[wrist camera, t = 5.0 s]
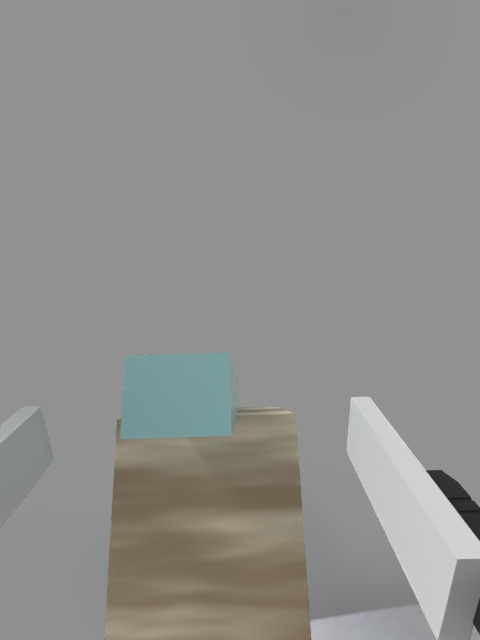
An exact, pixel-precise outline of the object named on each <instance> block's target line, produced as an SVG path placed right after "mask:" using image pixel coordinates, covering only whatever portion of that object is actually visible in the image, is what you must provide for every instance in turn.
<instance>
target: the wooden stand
mask: <svg viewBox="0 0 480 640" xmlns="http://www.w3.org/2000/svg"><path fill="white" fill-rule="evenodd" d="M116 430H117V431H116V447H115V465H114V483H113V499H112V517H111V534H110V535H111V536H110V551H109V569H108V588H107V605H106V621H105V639H104V640H311V630H310V616H309V601H308V587H307V572H306V559H305V543H304V529H303V514H302V502H301V486H300V474H299V473H300V471H299V457H298V444H297V443H298V442H297V429H296V414H294V413H292V412H289V411H287V410H284V409H281V408H279V407H245V408H238V410H237V414H236V418H235V423H234V427H233V431H232V435H231V436H208V437H177V438H146V439H120V432H121V419H118V420H117V429H116Z"/></svg>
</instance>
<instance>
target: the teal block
mask: <svg viewBox="0 0 480 640" xmlns="http://www.w3.org/2000/svg"><path fill="white" fill-rule="evenodd" d="M124 359H125V360H124V377H123V395H122V414H121V432H120V439H146V438H177V437H208V436H231V435H232V431H233V427H234V423H235V418H236V414H237V410H238V380H237V376H236V373H235V370H234V366H233V363H232V360H231V356H230V353H199V354H169V355H168V354H167V355H136V356H125V358H124Z"/></svg>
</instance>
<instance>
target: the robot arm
mask: <svg viewBox="0 0 480 640" xmlns="http://www.w3.org/2000/svg"><path fill="white" fill-rule="evenodd" d="M347 454H348V456H349V457H350V460H351V462H352V464H353V466H354V468H355V470H356V472H357V475H358V476H359V478H360V481H361V483H362V485H363V487H364V489H365V491H366V493H367V495H368V498H369V500H370V502H371V504H372V506H373V508H374V510H375V512H376V514H377V516H378V518H379V520H380V523H381V525H382V527H383V529H384V531H385V533H386V535H387V537H388V539H389V541H390V544H391V546H392V548H393V550H394V552H395V554H396V556H397V558H398V560H399V562H400V565H401V567H402V569H403V571H404V573H405V575H406V577H407V579H408V581H409V583H410V585H411V588H412V589H413V592H414V594H415V596H416V598H417V600H418V602H419V604H420V606H421V608H422V611H423V613H424V615H425V617H426V619H427V621H428V623H429V625H430V627H431V629H432V631H433V634H434V636H435V638H436V640H470V636H471V633H472V629H473V626H475V627H476V629H477V631H478V632H479V634H480V507H479V506H478V505H477V504H476V503H475V502H474V501H472V500H471V497H470V496H469V495H468V493H467V492H466V491H465V490H464V489H463V488H462V486H461V485H460V484H459V483H458V482H457V481H455V480H454V479H453V478H451V477H450V476H449V475H447V474H446V473H444V472H443V471H442V470H430V471H426V470H425V469H424V468H423V467H422V465H421V464H420V463H419V461H418V460H417V459H416V457H415V456H414V455H413V453H412V452H411V451H410V449H409V448H408V447H407V445H406V444H405V443H404V441H403V440H402V439H401V438H400V436H399V435H398V434H397V432H396V431H395V430H394V428H393V427H392V426H391V424H390V423H389V422H388V421H387V419H386V418H385V417H384V415H383V414H382V413H381V412H380V410H379V409H378V407H377V406H376V405H375V404H374V402H373V401H372V400H371V398H370V397H351V405H350V416H349V428H348V440H347ZM53 461H54V457H53V453H52V449H51V445H50V441H49V437H48V433H47V429H46V426H45V421H44V417H43V413H42V409H41V407H40V406H38V407H22V408H21V409H20V410H19V411H17V412H16V413H15V414H14V415H13V416H11V417H10V418H9V419H8V420H7V421H6V422H4V423H3V424H2V425H1V426H0V529H1V527H2V526H3V525H4V523H5V522H6V521H7V520H8V518H9V517H10V516H11V515H12V513H13V512H14V511H15V509H16V508H17V507H18V506H19V504H20V503H21V502H22V501H23V499H24V498H25V497H26V495H27V494H28V493H29V491H30V490H31V489H32V488H33V486H34V485H35V483H37V481H38V480H39V479H40V478H41V476H42V475H43V474H44V472H45V471H46V470H47V468H48V467H49V466H50V465H51V463H52V462H53Z"/></svg>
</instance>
